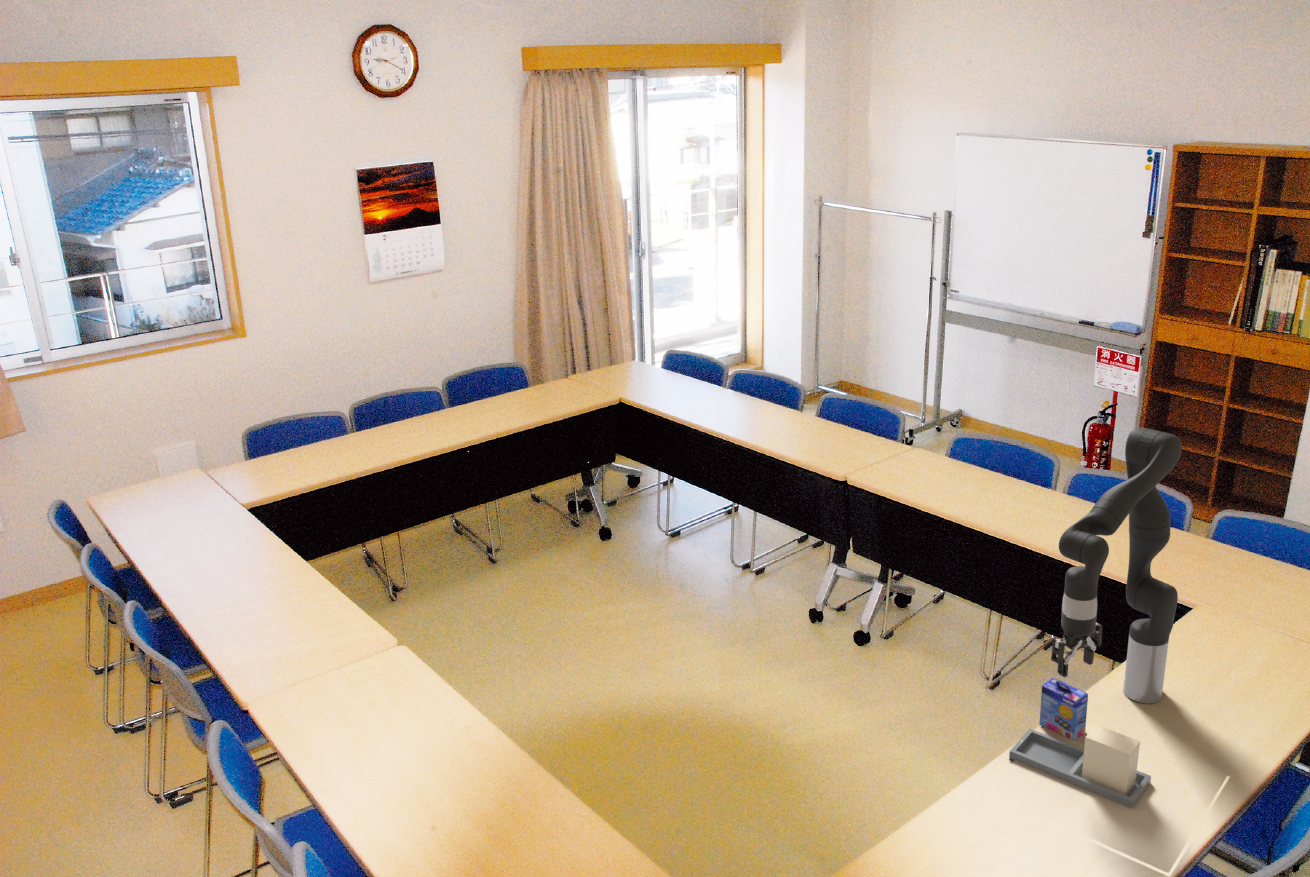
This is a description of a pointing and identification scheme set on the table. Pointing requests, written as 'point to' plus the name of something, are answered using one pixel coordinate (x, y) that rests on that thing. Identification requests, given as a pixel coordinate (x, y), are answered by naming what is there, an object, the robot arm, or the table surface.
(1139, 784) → the tray
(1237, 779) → the table surface
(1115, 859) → the table surface
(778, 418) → the table surface
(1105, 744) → the beige box
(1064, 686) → the ink cartridge box
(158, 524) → the table surface
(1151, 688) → the robot arm
